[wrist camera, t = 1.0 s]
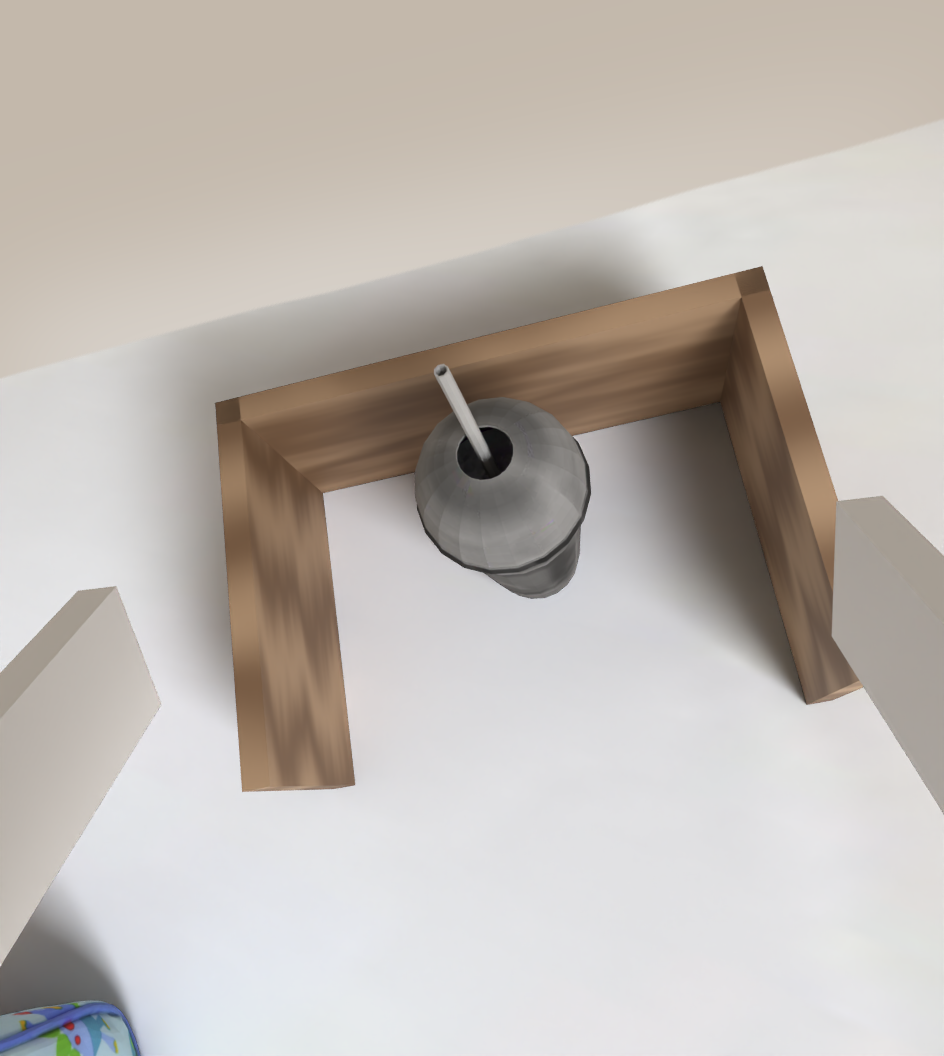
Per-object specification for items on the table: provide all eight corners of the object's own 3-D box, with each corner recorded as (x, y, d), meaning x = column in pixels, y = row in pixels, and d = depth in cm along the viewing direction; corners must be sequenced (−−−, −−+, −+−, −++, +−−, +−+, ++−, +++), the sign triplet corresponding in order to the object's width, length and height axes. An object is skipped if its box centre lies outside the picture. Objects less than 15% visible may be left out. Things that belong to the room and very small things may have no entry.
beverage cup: (510, 650, 44) (410, 552, 25) (447, 536, 46) (312, 371, 27) (630, 580, 44) (620, 429, 25) (560, 470, 46) (502, 257, 27)
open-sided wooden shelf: (832, 700, 40) (894, 674, 30) (333, 788, 43) (242, 791, 34) (736, 377, 46) (762, 266, 36) (301, 478, 49) (215, 403, 39)
